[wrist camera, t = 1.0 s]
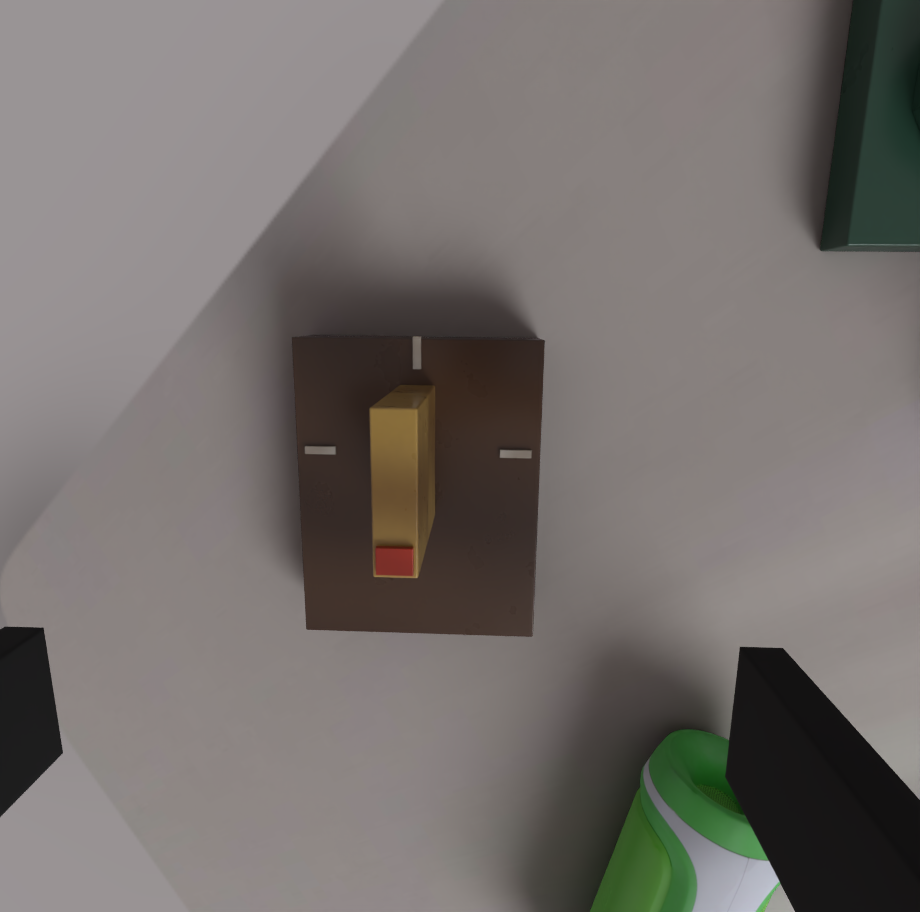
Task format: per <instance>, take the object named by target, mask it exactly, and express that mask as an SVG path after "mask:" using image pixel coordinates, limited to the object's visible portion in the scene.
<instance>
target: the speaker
mask: <svg viewBox="0 0 920 912" xmlns="http://www.w3.org/2000/svg"><path fill="white" fill-rule="evenodd" d="M728 747H729V740H727V739H725V738H723V737H720V736H718V735H715V734H712V733H709V732H705V731H700V730H693V729H683V730H677V731H674V732H672V733H670V734H669V735H668V736H667V737H666V738H665V739H664V740H663V741H662V742H661V743H660V744H659V746H658V747H657V748H656V749H655V750H654V752H653V753H652V755H651V756H650V758H649V759H648V761H647V762H646V763H645V765H644V766H643V768H642V771H641V775H640V788H639V789H638V790H637V792H636V795H635V797H634V800H633V802H632V805H631V807H630V810H629V813H628V815H627V818H626V820H625V823H624V825H623V828H622V831H621V833H620V836H619V838H618V841H617V844H616V846H615V849H614V851H613V854H612V857H611V859H610V862H609V864H608V867H607V869H606V872H605V874H604V877H603V879H602V882H601V884H600V887H599V889H598V892H597V895H596V897H595V900H594V902H593V905H592V907H591V910H590V912H764V911H765V909H766V907H767V904H768V902H769V900H770V898H771V896H772V894H773V892H774V891H775V890H776V888H777V887H778V886H779V885H780V881H779V880H778V878H777V876H776V874H775V872H774V870H773V868H772V866H771V864H770V862H769V860H768V858H767V857H766V855H765V853H764V851H763V849H762V847H761V845H760V843H759V841H758V839H757V837H756V835H755V833H754V832H753V830H752V828H751V826H750V824H749V822H748V820H747V818H746V816H745V814H744V812H743V810H742V809H741V807H740V805H739V803H738V801H737V799H736V797H735V795H734V793H733V791H732V789H731V787H730V785H729V784H728V782H727V780H726V778H725V773H726V764H727V756H728Z"/></svg>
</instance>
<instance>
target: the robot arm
mask: <svg viewBox="0 0 920 912" xmlns="http://www.w3.org/2000/svg"><path fill="white" fill-rule="evenodd" d="M62 753H63V750H62V745H61V738H60V731H59V725H58V718H57V712H56V705H55V699H54V692H53V686H52V680H51V673H50V667H49V660H48V654H47V647H46V641H45V634H44V628H33V627H4V628H2V629H0V817H1V815H3V814H4V813H5V812H6V810H7V809H8V808H9V807H10V806H11V805H12V804H13V803H14V802H15V801H16V800H17V799H18V798H19V797H20V796H21V795H22V794H23V793H24V792H25V791H26V790H27V789H28V788H29V787H30V786H31V785H32V784H33V783H34V782H35V781H36V780H37V779H38V778H39V777H40V776H41V775H42V774H43V773H44V772H45V771H46V770H47V769H48V768H49V767H50V766H51V764H53V762H55V760H56V759H57V758H58V757H59V756H60V755H61V754H62ZM725 778H726V780H727V782H728V784H729V785H730V787H731V789H732V791H733V793H734V795H735V797H736V799H737V801H738V803H739V805H740V807H741V809H742V810H743V812H744V814H745V816H746V818H747V820H748V822H749V824H750V826H751V828H752V830H753V832H754V833H755V835H756V837H757V839H758V841H759V843H760V845H761V847H762V849H763V851H764V853H765V855H766V857H767V858H768V860H769V862H770V864H771V866H772V868H773V870H774V872H775V874H776V876H777V878H778V880H779V881H780V883H781V885H782V887H783V889H784V891H785V893H786V895H787V897H788V899H789V901H790V903H791V905H792V906H793V908H794V910H795V912H920V800H919V799H918V798H917V796H916V795H915V794H914V793H913V792H912V791H911V790H910V789H909V788H908V786H907V785H906V784H905V783H904V782H903V781H902V780H901V779H900V778H899V776H898V775H897V774H896V773H895V772H894V771H893V770H892V769H891V768H890V766H889V765H888V764H887V763H886V762H885V761H884V760H883V759H882V758H881V757H880V755H879V754H878V753H877V752H876V751H875V750H874V749H873V748H872V747H871V745H870V744H869V743H868V742H867V741H866V740H865V739H864V738H863V737H862V735H861V734H860V733H859V732H858V731H857V730H856V729H855V728H854V727H853V725H852V724H851V723H850V722H849V721H848V720H847V719H846V718H845V717H844V715H843V714H842V713H841V712H840V711H839V710H838V709H837V708H836V707H835V705H834V704H833V703H832V702H831V701H830V700H829V699H828V698H827V697H826V695H825V694H824V693H823V692H822V691H821V690H820V689H819V688H818V687H817V685H816V684H815V683H814V682H813V681H812V680H811V679H810V678H809V677H808V675H807V674H806V673H805V672H804V671H803V670H802V669H801V668H800V667H799V666H798V664H797V663H796V662H795V661H794V660H793V659H792V658H791V657H790V656H789V654H788V653H787V652H786V651H785V650H784V649H783V648H760V647H740V652H739V661H738V670H737V678H736V687H735V695H734V704H733V713H732V721H731V730H730V738H729V747H728V756H727V764H726V773H725Z"/></svg>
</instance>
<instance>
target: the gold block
mask: <svg viewBox="0 0 920 912" xmlns="http://www.w3.org/2000/svg"><path fill="white" fill-rule="evenodd" d="M369 416H370V460H371V504H372V547H373V576H374V577H394V578H418V576H419V573H420V569H421V565H422V561H423V558H424V554H425V550H426V546H427V543H428V539H429V535H430V532H431V528H432V524H433V520H434V517H435V386H433V385H399V386H398V387H397V388H395V389H394V390H393V391H392V392H390V393H389V394H388V395H386V396H385V397H384V398H382V399H381V400H380V401H378V402H377V403H376V404H374V405H373V406H372V407H371V408H370V409H369Z"/></svg>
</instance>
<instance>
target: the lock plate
mask: <svg viewBox="0 0 920 912" xmlns="http://www.w3.org/2000/svg"><path fill="white" fill-rule="evenodd" d="M544 344H545V341H544V340H542V339H539V338H500V337H421V336H326V335H310V336H300V337H292V350H293V370H294V390H295V410H296V430H297V450H298V470H299V490H300V511H301V531H302V551H303V571H304V591H305V611H306V629H307V630H337V631H368V632H400V633H432V634H463V635H495V636H526V637H532V636H533V620H534V595H535V570H536V545H537V520H538V495H539V470H540V444H541V419H542V394H543V369H544ZM399 385H433V386H435V517H434V520H433V524H432V528H431V532H430V535H429V539H428V543H427V546H426V550H425V554H424V558H423V561H422V565H421V569H420V573H419V576H418V578H394V577H374V576H373V547H372V504H371V460H370V416H369V409H370V408H371V407H372V406H373V405H374V404H376V403H377V402H378V401H380V400H381V399H382V398H384V397H385V396H386V395H388V394H389V393H390V392H392V391H393V390H394V389H395V388H397V387H398V386H399Z"/></svg>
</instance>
